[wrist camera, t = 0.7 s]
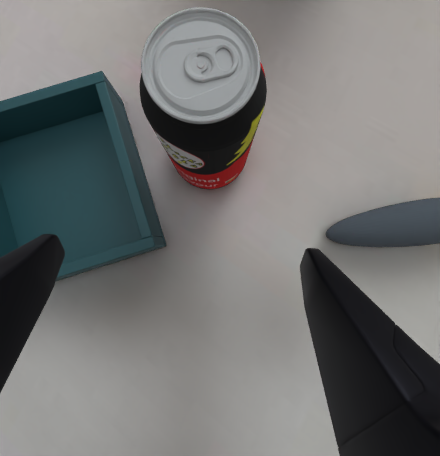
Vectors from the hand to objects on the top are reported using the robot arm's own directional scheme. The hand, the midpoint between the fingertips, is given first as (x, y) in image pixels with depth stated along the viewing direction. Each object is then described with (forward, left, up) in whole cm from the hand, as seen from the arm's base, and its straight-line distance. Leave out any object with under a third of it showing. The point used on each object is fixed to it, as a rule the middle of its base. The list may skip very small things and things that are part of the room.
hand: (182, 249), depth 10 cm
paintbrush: (-8, -19, -13) cm, 24 cm away
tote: (+9, +8, -13) cm, 18 cm away
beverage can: (+7, -4, -13) cm, 16 cm away
